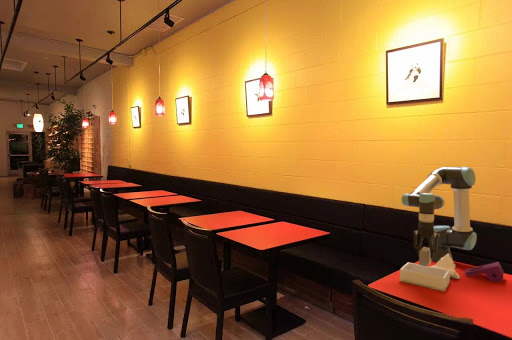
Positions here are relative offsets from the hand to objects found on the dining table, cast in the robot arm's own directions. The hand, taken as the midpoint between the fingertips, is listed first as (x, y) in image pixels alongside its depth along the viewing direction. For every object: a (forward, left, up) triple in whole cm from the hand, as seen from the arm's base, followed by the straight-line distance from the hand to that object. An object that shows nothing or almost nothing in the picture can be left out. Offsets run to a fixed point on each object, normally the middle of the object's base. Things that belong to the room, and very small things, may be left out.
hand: (425, 262), depth 182 cm
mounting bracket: (-31, +25, -11) cm, 41 cm away
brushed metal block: (0, 0, 0) cm, 0 cm away
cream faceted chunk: (-19, +7, -11) cm, 23 cm away
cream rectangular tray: (0, 0, -11) cm, 11 cm away
